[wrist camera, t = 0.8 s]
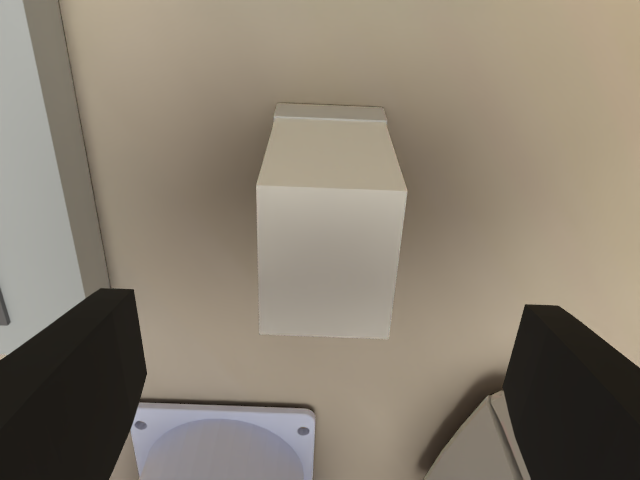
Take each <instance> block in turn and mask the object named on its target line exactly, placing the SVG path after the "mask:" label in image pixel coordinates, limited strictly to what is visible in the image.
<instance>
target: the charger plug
mask: <svg viewBox="0 0 640 480" xmlns="http://www.w3.org/2000/svg"><path fill="white" fill-rule="evenodd" d="M406 199H407V188H406V185H405V182H404V179H403V175H402V172H401V169H400V166H399V163H398V160H397V157H396V153H395V150H394V147H393V144H392V141H391V138H390V135H389V131H388V128H387V118H386V115H385V112H384V109H383V107H364V106H340V105H316V104H291V103H277V106H276V109H275V113H274V124H273V128H272V131H271V135H270V138H269V142H268V145H267V149H266V152H265V156H264V159H263V163H262V166H261V170H260V173H259V177H258V180H257V184H256V202H257V249H258V297H259V335H283V336H311V337H338V338H366V339H389V333H390V325H391V317H392V309H393V302H394V294H395V286H396V278H397V270H398V262H399V254H400V246H401V239H402V231H403V223H404V215H405V207H406Z"/></svg>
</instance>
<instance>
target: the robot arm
mask: <svg viewBox="0 0 640 480" xmlns="http://www.w3.org/2000/svg"><path fill="white" fill-rule="evenodd" d="M146 376H147V370H146V364H145V358H144V351H143V345H142V339H141V332H140V326H139V320H138V313H137V307H136V301H135V294H134V289H110V288H100V289H99V290H97V291H96V292H94V293H92V294H91V295H90V296H88V297H87V298H85V299H84V300H83V301H81V302H80V303H78V304H77V305H76V306H74V307H73V308H72V309H70V310H69V311H68V312H66V313H65V314H63V315H62V316H61V317H59V318H58V319H57V320H55V321H54V322H53V323H51V324H50V325H49V326H47V327H46V328H44V329H43V330H42V331H40V332H39V333H38V334H36V335H35V336H33V337H32V338H31V339H29V340H28V341H27V342H25V343H24V344H22V345H21V346H20V347H18V348H17V349H15V350H14V351H13V352H11V353H10V354H8V355H7V356H6V357H4V358H3V359H1V360H0V480H109V478H110V476H111V474H112V472H113V469H114V467H115V465H116V462H117V460H118V458H119V455H120V453H121V451H122V448H123V446H124V443H125V441H126V439H127V436H128V434H129V432H130V430H131V435H132V441H133V446H134V451H135V456H136V462H137V467H138V472H139V478H140V479H139V480H313V462H314V441H315V418H316V417H315V414H314V413H313V411H311V410H309V409H305V408H279V407H252V406H224V405H197V404H170V403H142V402H140V403H139V401H140V398H141V394H142V390H143V387H144V383H145V379H146ZM503 391H504V395H505V399H506V404H507V408H508V413H509V417H510V420H511V424H512V428H513V432H514V436H515V439H516V442H517V444H518V447H519V450H520V452H521V455H522V458H523V460H524V463H525V465H526V468H527V471H528V473H529V476H530V478H531V480H640V368H639V367H638V366H636V365H635V364H634V363H633V362H631V361H630V360H629V359H627V358H626V357H625V356H624V355H622V354H621V353H620V352H618V351H617V350H616V349H615V348H613V347H612V346H611V345H610V344H608V343H607V342H606V341H605V340H603V339H602V338H601V337H599V336H598V335H597V334H596V333H594V332H593V331H592V330H591V329H589V328H588V327H587V326H585V325H584V324H583V323H582V322H580V321H579V320H578V319H576V318H575V317H574V316H572V315H571V314H570V313H568V312H567V311H565V310H564V309H562V308H561V307H560V306H553V305H527V304H525V307H524V311H523V314H522V318H521V322H520V325H519V329H518V333H517V336H516V340H515V344H514V347H513V351H512V354H511V358H510V362H509V365H508V369H507V373H506V376H505V380H504V384H503ZM140 421H142V422H140ZM300 427H306V428H300Z"/></svg>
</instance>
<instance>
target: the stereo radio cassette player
mask: <svg viewBox="0 0 640 480" xmlns="http://www.w3.org/2000/svg"><path fill="white" fill-rule="evenodd" d="M423 480H531V478H530V476H529V473H528V471H527V468H526V465H525V463H524V460H523V458H522V455H521V452H520V450H519V447H518V444H517V442H516V439H515V436H514V432H513V428H512V424H511V420H510V417H509V413H508V408H507V404H506V399H505V395H504V391H499V392H497V393H495V394H492V395H488V396H487V397H486V398H485V399H484V400H483V401H482V403H481V404H480V405H479V406H478V407H477V408H476V409H475V411H474V412H473V413H472V414H471V415H470V416H469V417H468V419H467V420H466V421H465V422H464V423H463V424H462V425H461V427H460V428H459V429H458V431H457V432H456V433H455V434H454V436H453V437H452V438H451V440H450V441H449V442H448V443H447V445H446V446H445V447H444V449H443V450H442V451H441V453H440V454H439V456H438V457H437V459H436V461H435V462H434V464H433V465H432V467H431V468H430V470H429V471H428V473H427V475H426V476H425V478H424V479H423Z"/></svg>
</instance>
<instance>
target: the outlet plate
mask: <svg viewBox="0 0 640 480" xmlns="http://www.w3.org/2000/svg"><path fill="white" fill-rule="evenodd" d="M100 288H110V283H109V278H108V272H107V267H106V261H105V256H104V250H103V245H102V239H101V234H100V228H99V223H98V217H97V212H96V206H95V201H94V195H93V190H92V184H91V179H90V173H89V168H88V162H87V157H86V151H85V146H84V140H83V135H82V129H81V124H80V118H79V113H78V107H77V102H76V96H75V91H74V85H73V80H72V74H71V69H70V63H69V58H68V52H67V47H66V41H65V36H64V30H63V25H62V19H61V14H60V8H59V3H58V0H0V354H2V355H8V354H10V353H11V352H13V351H14V350H15V349H17V348H18V347H20V346H21V345H22V344H24V343H25V342H27V341H28V340H29V339H31V338H32V337H33V336H35V335H36V334H38V333H39V332H40V331H42V330H43V329H44V328H46V327H47V326H49V325H50V324H51V323H53V322H54V321H55V320H57V319H58V318H59V317H61V316H62V315H63V314H65V313H66V312H68V311H69V310H70V309H72V308H73V307H74V306H76V305H77V304H78V303H80V302H81V301H83V300H84V299H85V298H87V297H88V296H90V295H91V294H92V293H94V292H96V291H97V290H99V289H100Z"/></svg>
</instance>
